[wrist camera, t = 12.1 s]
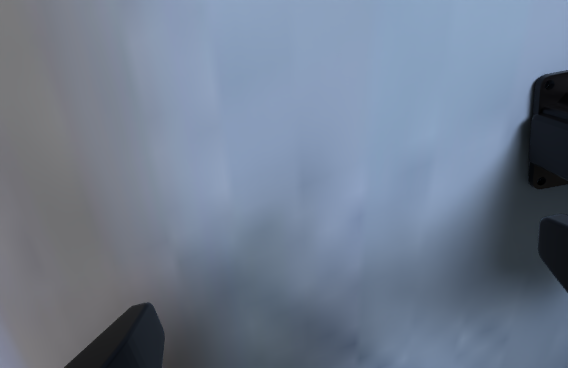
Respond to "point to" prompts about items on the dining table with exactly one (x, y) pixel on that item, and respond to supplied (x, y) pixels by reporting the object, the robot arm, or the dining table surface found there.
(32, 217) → the dining table surface
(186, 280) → the dining table surface
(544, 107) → the robot arm
